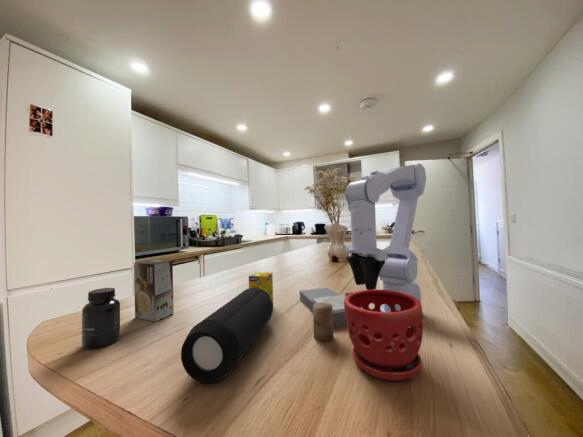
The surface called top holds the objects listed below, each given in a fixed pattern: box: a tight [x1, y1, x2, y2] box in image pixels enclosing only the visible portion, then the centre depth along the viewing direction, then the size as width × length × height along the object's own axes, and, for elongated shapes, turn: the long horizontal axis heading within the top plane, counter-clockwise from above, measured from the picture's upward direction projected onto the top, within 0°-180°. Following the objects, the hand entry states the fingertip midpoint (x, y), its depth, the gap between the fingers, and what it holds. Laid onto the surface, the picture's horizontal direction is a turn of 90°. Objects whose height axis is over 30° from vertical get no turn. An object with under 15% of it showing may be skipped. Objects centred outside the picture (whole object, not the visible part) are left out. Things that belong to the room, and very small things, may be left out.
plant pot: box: [344, 288, 424, 382], centre depth 42 cm, size 13×13×12 cm
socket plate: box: [299, 287, 347, 327], centre depth 70 cm, size 10×22×3 cm, turn 15°
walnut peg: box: [312, 303, 334, 343], centre depth 53 cm, size 4×4×7 cm
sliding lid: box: [312, 291, 363, 313], centre depth 65 cm, size 10×11×4 cm
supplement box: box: [248, 271, 274, 306], centre depth 71 cm, size 6×6×11 cm
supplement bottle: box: [81, 287, 121, 351], centre depth 53 cm, size 7×7×12 cm
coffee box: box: [133, 259, 175, 322], centre depth 69 cm, size 9×6×16 cm
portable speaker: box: [180, 287, 274, 384], centre depth 50 cm, size 26×10×10 cm, turn 168°
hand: (365, 286), depth 56 cm, fingers open, 4 cm apart
